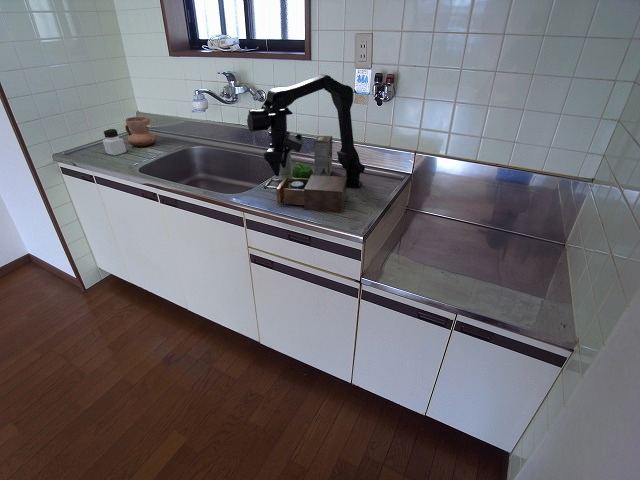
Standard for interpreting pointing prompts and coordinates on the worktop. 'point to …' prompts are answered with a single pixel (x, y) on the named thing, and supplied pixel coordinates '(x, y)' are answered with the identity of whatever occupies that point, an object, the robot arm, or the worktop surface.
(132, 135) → the ceramic jug
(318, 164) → the coffee box
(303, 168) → the bell pepper
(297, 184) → the tea tin
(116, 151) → the medicine bottle
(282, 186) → the drawer
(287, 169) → the spray can
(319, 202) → the cabinet
